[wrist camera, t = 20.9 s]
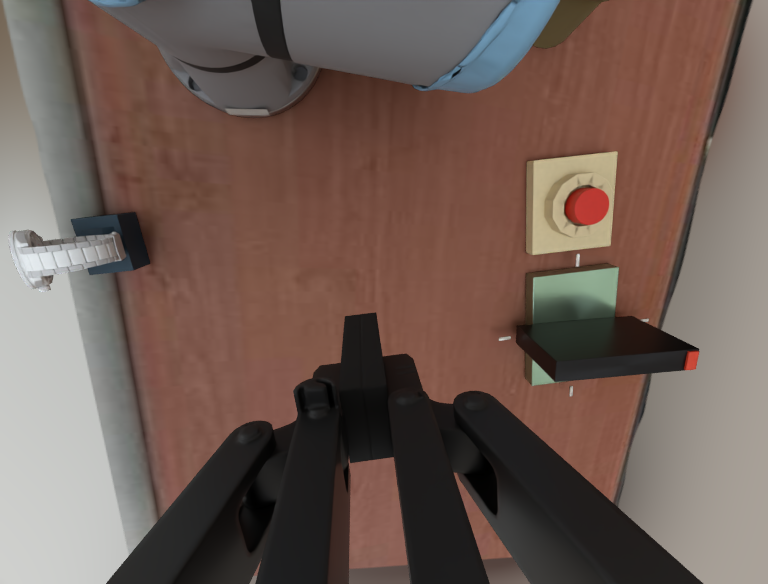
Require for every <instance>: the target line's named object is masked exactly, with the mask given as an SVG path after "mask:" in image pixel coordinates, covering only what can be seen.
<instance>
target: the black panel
mask: <svg viewBox="0 0 768 584" xmlns="http://www.w3.org/2000/svg"><path fill="white" fill-rule="evenodd" d="M516 343H517V344H518V345H519V346H520V347H521V348H522V349H523V350H524V351H525V352H526V353H527V354H528V355H529V356H530V357H531V358H532V359H533V360H534V361H535V362H536V363H537V364H538V365H539V366H540V367H541V368H542V369H543V371H544V372H545V373H546V374H547V375H548V376H549V377H550V378H551V379H552V380H553V381H554V382H562V381H573V380H584V379H595V378H605V377H616V376H627V375H638V374H649V373H659V372H671V371H681V370H693V369H696V365H697V360H698V355H699V349H698V348H696V347H694V346H692V345H690V344H688V343H686V342H684V341H682V340H680V339H678V338H676V337H674V336H672V335H670V334H668V333H666V332H664V331H662V330H660V329H657V328H655V327H653V326H651V325H649V324H647V323H645V322H643V321H641V320H639V319H637V318H635V317H633V316H626V317H614V318H602V319H590V320H578V321H567V322H555V323H543V324H531V325H519V326H517V333H516Z"/></svg>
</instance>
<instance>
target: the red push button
mask: <svg viewBox="0 0 768 584" xmlns="http://www.w3.org/2000/svg"><path fill="white" fill-rule="evenodd" d="M608 210H609V198H608V196H607V194H606V193H605V192H604V191H603V190H601V189H598V188H580V189H577V190H576V191H574V192H573V193H572V194H571V195H570V196H569V197H568V199H567V201H566V204H565V213H566V215H567V217H568V218H569V220H571V221H572V222H574V223H579V224H584V225H593V224H596V223H598V222H600V221H601V220H602V219H603V218H604V217H605V216H606V214H607V212H608Z"/></svg>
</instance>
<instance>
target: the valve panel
mask: <svg viewBox="0 0 768 584" xmlns="http://www.w3.org/2000/svg"><path fill="white" fill-rule="evenodd" d="M579 259H580V254H576V264H575V266H576V267H574V268H566V269H558V270H550V271H542V272H533V273H526V321H525V325H531V324H543V323H555V322H567V321H578V320H590V319H602V318H614V317H615V308H616V297H617V285H618V273H619V267H617V266H614V265H611V264H608V263H607V264H599V265H591V266H582V267H577V266H579ZM639 320H641V321H643V322H648V321H649V319H648V318H646V319H639ZM508 339H511V336H506V337H499V341H500V340H508ZM525 378H526V380H527V381H528V382H529V383H530V384H531V385H532V386H535V385H543V384H550V383H557V382H554V381H553V380H552V379H551V378H550V377H549V376H548V375H547V374H546V373H545V372H544V371H543V369H542V368H541V367H540V366H539V365H538V364H537V363H536V362H535V361H534V360H533V359H532V358H531V357H530V356H529V355H528V354H527V353H526V352H525ZM562 382H565V381H562ZM572 395H573V386H570V387H569V396H572Z"/></svg>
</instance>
